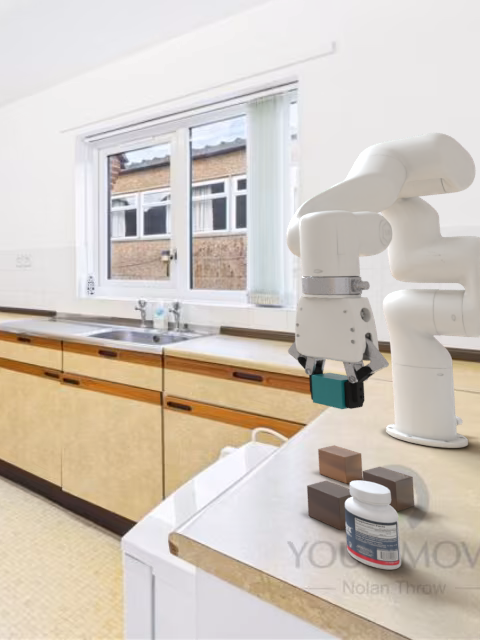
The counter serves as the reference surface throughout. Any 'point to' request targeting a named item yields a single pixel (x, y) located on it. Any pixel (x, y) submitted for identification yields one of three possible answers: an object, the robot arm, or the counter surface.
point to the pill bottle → (372, 526)
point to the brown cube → (328, 503)
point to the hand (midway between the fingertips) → (336, 402)
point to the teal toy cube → (329, 389)
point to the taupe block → (393, 486)
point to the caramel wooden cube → (340, 464)
